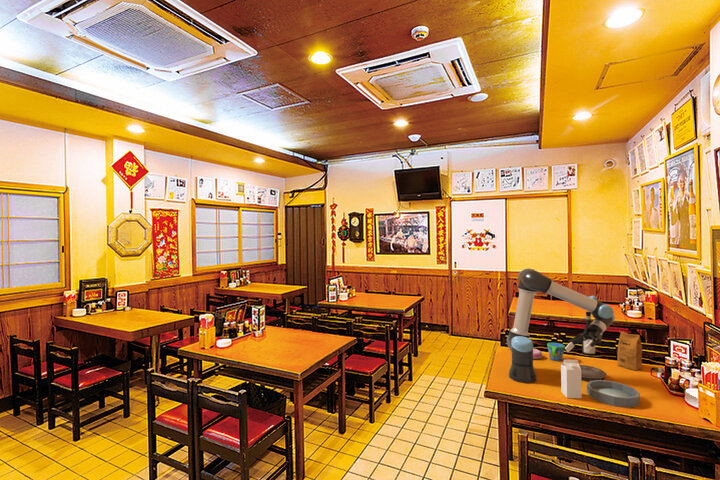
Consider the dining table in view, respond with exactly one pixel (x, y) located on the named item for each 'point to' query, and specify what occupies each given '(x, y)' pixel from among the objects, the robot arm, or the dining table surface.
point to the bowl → (613, 393)
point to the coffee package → (630, 351)
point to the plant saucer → (591, 373)
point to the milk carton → (571, 379)
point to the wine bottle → (584, 343)
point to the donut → (536, 354)
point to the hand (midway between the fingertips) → (576, 349)
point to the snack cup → (556, 351)
